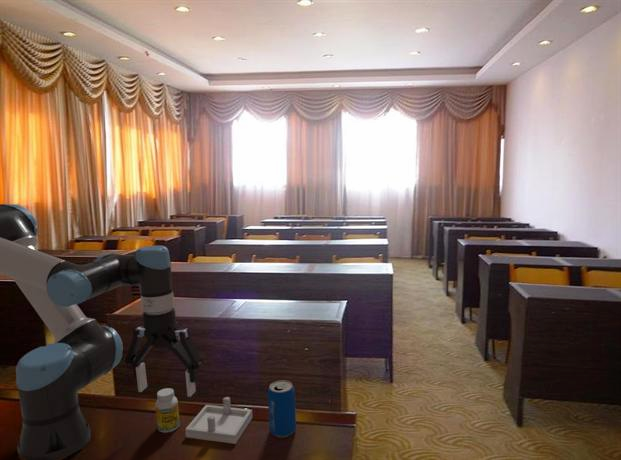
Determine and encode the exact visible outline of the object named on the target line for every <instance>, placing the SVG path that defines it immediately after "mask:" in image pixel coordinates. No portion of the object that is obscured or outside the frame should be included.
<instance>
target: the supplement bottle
mask: <svg viewBox="0 0 621 460" xmlns="http://www.w3.org/2000/svg"><path fill="white" fill-rule="evenodd" d="M156 398H157V400H156V402H155V406H154V407H155V415H156V423H157V424H156V425H157V430H158V431H159V432H161V433H163V434H166V433H168V434H169V433H171V432H172V433H173V432H175V430H177V429H178V428H179V426H180V425H181V424H180V423H181V422H180V413H179V404H178V403H179V402H178V398H177V397H176V396H175V391H174V389H173V388H170V387H169V388H168V387H167V388H162V389H160V390H158V391H157V392H156Z"/></svg>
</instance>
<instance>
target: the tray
mask: <svg viewBox="0 0 621 460" xmlns="http://www.w3.org/2000/svg"><path fill="white" fill-rule="evenodd" d="M222 404H223V405H222V406H219V405H213V404H205V405H204V407H203V408H202V409H201V410H200V412H198V414H196V416H195V417H194V418H193V420H192V421H191V422H190V423H189V424H188V426H186V428H185V438H189V439H197V440H203V441H210V442H211V441H213V442H220V443H227V444H232V445H233V444H234V445H236V444H237V443H238V441H239V440H240V439H241V437H242V435H243V434H244V432H245V430H246V429H247V427H248V426H249V424H250V423H251V421H252V419H253V409H248V408H247V409H245V408H239V407H231V397H229V396H226V397H224V398H222Z"/></svg>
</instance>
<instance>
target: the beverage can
mask: <svg viewBox="0 0 621 460" xmlns="http://www.w3.org/2000/svg"><path fill="white" fill-rule="evenodd" d="M295 392H296V389H295V387H294V386H293V382H291V381H289V380H284V379H282V380H281V379H280V380H279V379H278V380H275V381H273V382H272V383H270V385H269V388H268V390H267V402H268V404H267V405H268V422H269V423H268V424H269V425H268V426H269V431H270V433H271V434H272V435H273V436H275V437H277V438H286V437H289V436H291V435H292V434H294V433H295V431H296V429H297V419H296V418H297V416H296V413H297V412H296V393H295Z"/></svg>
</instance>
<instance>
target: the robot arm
mask: <svg viewBox="0 0 621 460" xmlns="http://www.w3.org/2000/svg"><path fill="white" fill-rule="evenodd" d="M37 225H38V223H37V220H36V218H35V216H34V215H33V214H32V213H31V211H30V210H28V209H27V208H25V207H24V206H22V205H18V204H13V203H11V204H10V203H9V204H7V203H2V204H0V274H2V275H3V276H6V277H9V278H11V279H12V280H13V281H14V282H15V283H16V285H17V287H18V288H19V290H21V292H22V293H23V294H24V295H23V296H25V298H26V299H27V301H28V302H29V303H30V305H31V306H32V307H33V309H34V310H35V312H36V313H37V315H38V316H39V317H40V319H41V320H42V322H43V323H44V324H45V326H46V327H47V329H49V332H50V333H51V334H52V335H53V337H54V341H53V343H49V344H46V345H45V346H39V347H37V348H34V349H33V350H30V351H29V352H27V353H26V354H24V355H23V356H22V357H21V358H20V359H19V360H18V362H17V364H16V366H15V374H16V375H15V376H16V378H15V383H16V387H17V390H18V391H17V392H18V397H19V398H18V399H19V404H20V412H21V418H22V427H21V432H20V437H19V439H20V440H19V441H18V444H17V454H19V456H20V457H21V458H23V459H26V460H54V459H59V458H62V457H65V456H68V455H70V454H73V453H75V452H77V451H79V450H80V449H81V450H83V449H84V448H85V447H86V446H87V445H88V443H89V441H90V439H91V435H92V434H91V428H90V425H89V423H88V421H87V420H86V417H85V415H84V413H83V412H82V410H81V408H80V404H79V396H78V392H79V391H81V390H82V389H83V388H85V387H87V386H88V385H90V384H92V383H93V382H95V381H96V380H98V379H99V378H101V377H102V376H106V375H107V374H109V372H111V370H112V369H114V368H115V367H117V366H118V364H119V363H120V362H121V359H122V357H123V351H124V347H123V346H124V345H123V340H122V339H121V336H120V334H119V333H118V331H116V329H114V328H113V327H109V326H107V325H102V326H101V325H100V324H99V322H98V321H97V319H96V318H91V317H88V316H86V315H85V314H84V312H83V310H81V308H80V307H79V306H78V305H80V304H82V303H83V302H85V301H87V300H91V299H92V298H94V297H97V296H99V295H101V294H104V293H106V292H109V291H112V290H114V289H116V288H119V287H122V286H123V287H125V286H126V287H127V286H131V287H138V288H139V294H140V302H141V303H140V304H141V311H142V312H143V313H142V316H141V317H142V322H143V323H142V324H143V326H142V325H140V326H138V327H136V328H135V329H133V330H132V331H133V332H132V337H133V338H132V341H131V342H130V344H129V345H130V346H129V349H128V350H127V351H128V352H127V354H126V358H125V361H124V362H125V364H127V365H128V364H130V365H131V366H132V368H133V369H132V370H133V376H134V378H135V379H136V382H137V390H138V391H137V393H142V392H143V391H144V390H145V389H147V388H148V381H147V373H146V371H147V369H146V363H145V362H143V361H144V360H145V358H146V357H147V355H148V354H149V352H150V350H152V348H153V347H154V349H155V348H156V349H157V348H162V349H168V350H169V351H171V352H172V353H173V354H174V355H175V356H176V357H177V359H179V361H180V362H181V363H182V365H184V367H185V368H186V370H185V384H186V392H187V393H186V394H187V395H186V396H187V398H188V397H190V398H191V397H192V396H193V394H194V393H196V382H197V380H198V370H199V369H200V368H201V367H202V366H203V365H204V362H205V361H204V360H203V358H202V356H201V354H200V352H199V351H198V349H197V348H196V346H195V344H194V342H193V340H192V338H191V336H190V332H189V331H190V330H189V328H187V327H185V328H184V329H177V327H176V323H177V320H176V319H177V318H176V309H175V308H174V307H175V304H176V303H175V296H174V289H173V288H174V287H173V280H172V262H171V258H170V257H171V256H170V250H169V249H168V247H166V246H165V245H147V246H142V247H139V248H137V249H136V251H135V254H120V253H119V254H118V253H109V254H107V253H106V254H100V255H99V256H97V257H96V258H95V259H94V260H93V261H91V262H89V263H85V264H76V263H74V262H70V261H67V260H65V259H62V258H59V257H56V256H53V255H51V254H47V253H45V252H42V251H40V250H39V249H38V248H37V244H38V241H39V240H38V237H37V236H38V232H39V229H38V227H36V226H37ZM143 337H146V342H145V343H144V344H143V347H142V348H141V350H140V351H139V348H140V346H141V343H142V341H143ZM138 351H139V352H138ZM81 450H80V451H81ZM80 451H79V452H80ZM77 453H78V452H77Z"/></svg>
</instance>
